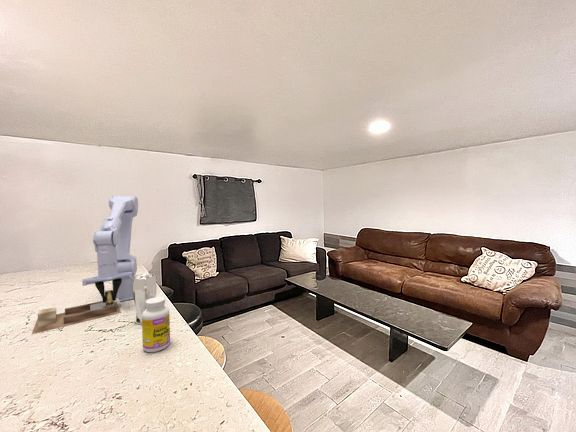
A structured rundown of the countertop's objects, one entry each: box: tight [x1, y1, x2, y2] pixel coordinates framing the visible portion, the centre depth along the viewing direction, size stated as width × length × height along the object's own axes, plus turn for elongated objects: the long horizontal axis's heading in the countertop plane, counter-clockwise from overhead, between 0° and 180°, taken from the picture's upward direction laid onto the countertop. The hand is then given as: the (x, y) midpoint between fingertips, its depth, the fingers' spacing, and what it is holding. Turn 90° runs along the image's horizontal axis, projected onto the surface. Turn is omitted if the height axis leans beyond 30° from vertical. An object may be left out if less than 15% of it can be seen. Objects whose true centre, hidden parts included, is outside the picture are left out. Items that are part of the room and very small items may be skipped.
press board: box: [31, 300, 122, 335], centre depth 86 cm, size 22×14×4 cm, turn 130°
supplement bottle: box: [141, 296, 171, 353], centre depth 68 cm, size 7×7×13 cm
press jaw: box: [90, 289, 116, 311], centre depth 90 cm, size 7×7×6 cm
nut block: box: [37, 306, 58, 327], centre depth 80 cm, size 4×4×4 cm
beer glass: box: [133, 273, 158, 326], centre depth 84 cm, size 7×7×15 cm
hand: (109, 300), depth 91 cm, fingers closed on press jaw, 2 cm apart
